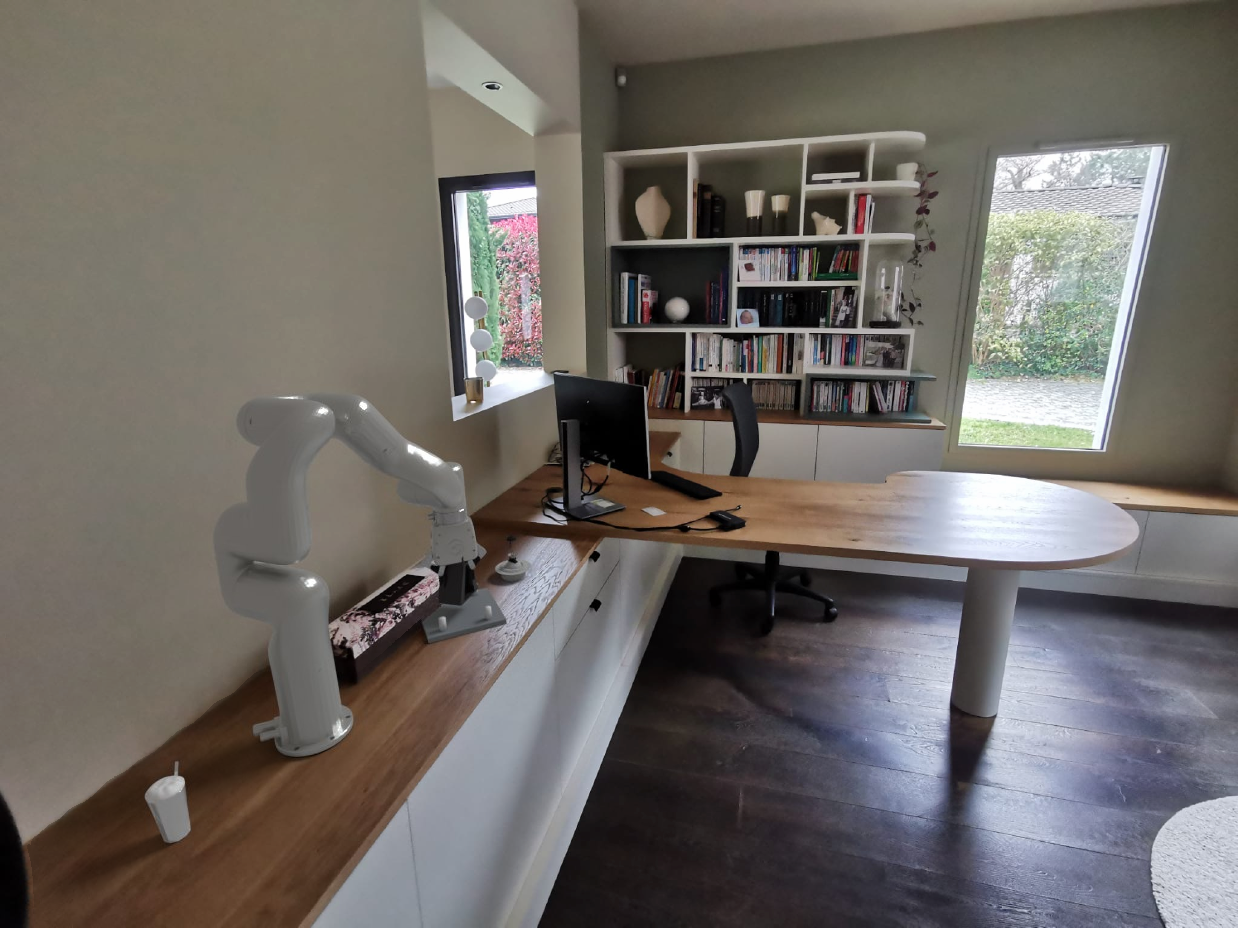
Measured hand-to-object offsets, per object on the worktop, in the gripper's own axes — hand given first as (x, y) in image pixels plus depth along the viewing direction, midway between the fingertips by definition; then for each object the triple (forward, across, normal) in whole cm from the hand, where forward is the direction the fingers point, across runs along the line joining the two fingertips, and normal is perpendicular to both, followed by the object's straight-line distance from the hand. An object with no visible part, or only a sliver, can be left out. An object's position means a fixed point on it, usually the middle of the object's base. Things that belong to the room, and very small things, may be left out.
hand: (457, 584), depth 143 cm
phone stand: (+3, 0, 0) cm, 3 cm away
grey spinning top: (+9, +18, +15) cm, 25 cm away
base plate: (+8, 0, 0) cm, 8 cm away
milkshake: (+8, -50, -43) cm, 66 cm away
